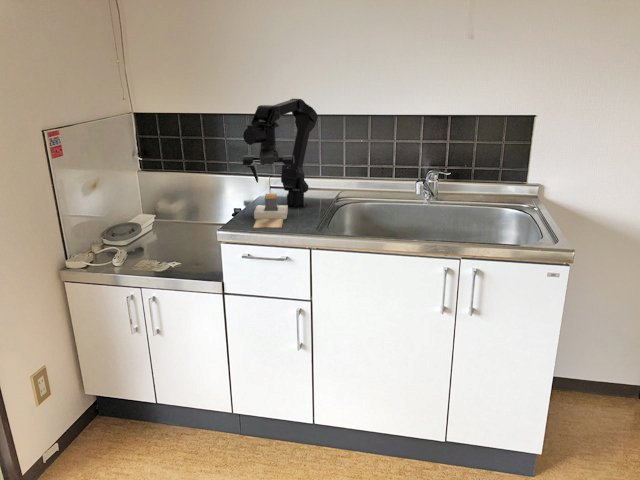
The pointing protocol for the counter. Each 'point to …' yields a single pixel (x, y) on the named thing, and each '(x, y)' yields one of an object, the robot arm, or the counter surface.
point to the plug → (270, 202)
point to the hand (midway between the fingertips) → (269, 182)
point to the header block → (271, 212)
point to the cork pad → (268, 223)
